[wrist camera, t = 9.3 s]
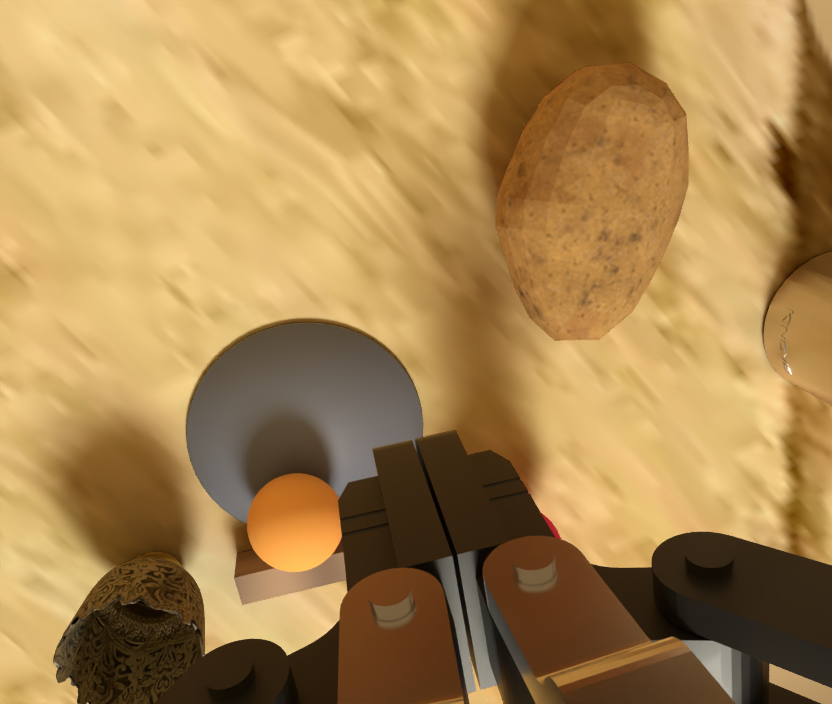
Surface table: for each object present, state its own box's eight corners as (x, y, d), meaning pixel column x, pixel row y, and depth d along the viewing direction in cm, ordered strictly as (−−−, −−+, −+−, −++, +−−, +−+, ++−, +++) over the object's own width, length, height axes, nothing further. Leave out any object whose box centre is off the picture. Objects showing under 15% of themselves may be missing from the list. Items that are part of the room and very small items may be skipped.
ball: (328, 444, 43) (335, 503, 38) (349, 515, 46) (358, 578, 41) (237, 467, 43) (231, 529, 38) (263, 537, 46) (261, 604, 41)
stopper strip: (423, 510, 46) (430, 531, 44) (428, 535, 47) (435, 558, 45) (237, 553, 45) (234, 578, 43) (244, 579, 46) (242, 604, 44)
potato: (459, 308, 42) (494, 353, 35) (500, 53, 38) (551, 41, 31) (612, 323, 44) (677, 368, 37) (668, 82, 40) (754, 77, 33)
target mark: (401, 300, 42) (402, 301, 41) (438, 506, 47) (439, 507, 46) (157, 350, 40) (156, 351, 40) (221, 557, 45) (220, 559, 45)
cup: (70, 548, 43) (24, 641, 36) (185, 501, 44) (163, 584, 36) (129, 638, 46) (98, 742, 39) (238, 594, 46) (227, 688, 39)
